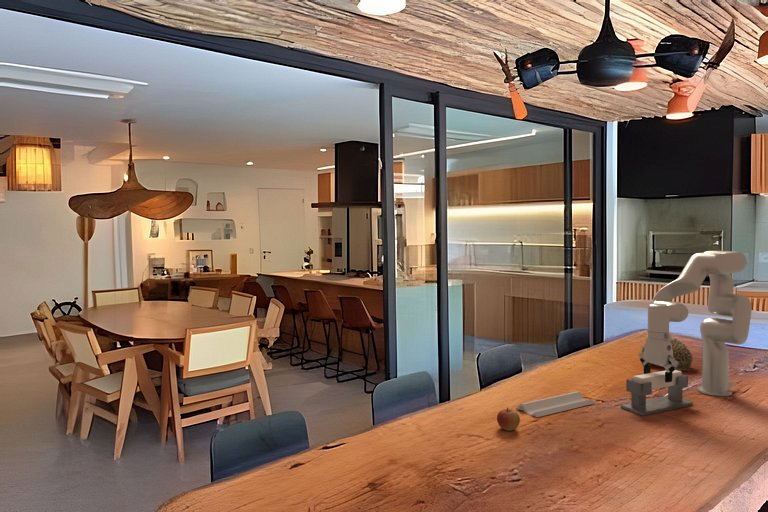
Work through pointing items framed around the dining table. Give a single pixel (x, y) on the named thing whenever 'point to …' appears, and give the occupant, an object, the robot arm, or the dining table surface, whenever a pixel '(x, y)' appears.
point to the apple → (508, 419)
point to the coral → (680, 354)
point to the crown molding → (554, 404)
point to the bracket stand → (655, 404)
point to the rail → (658, 379)
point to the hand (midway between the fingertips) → (657, 378)
